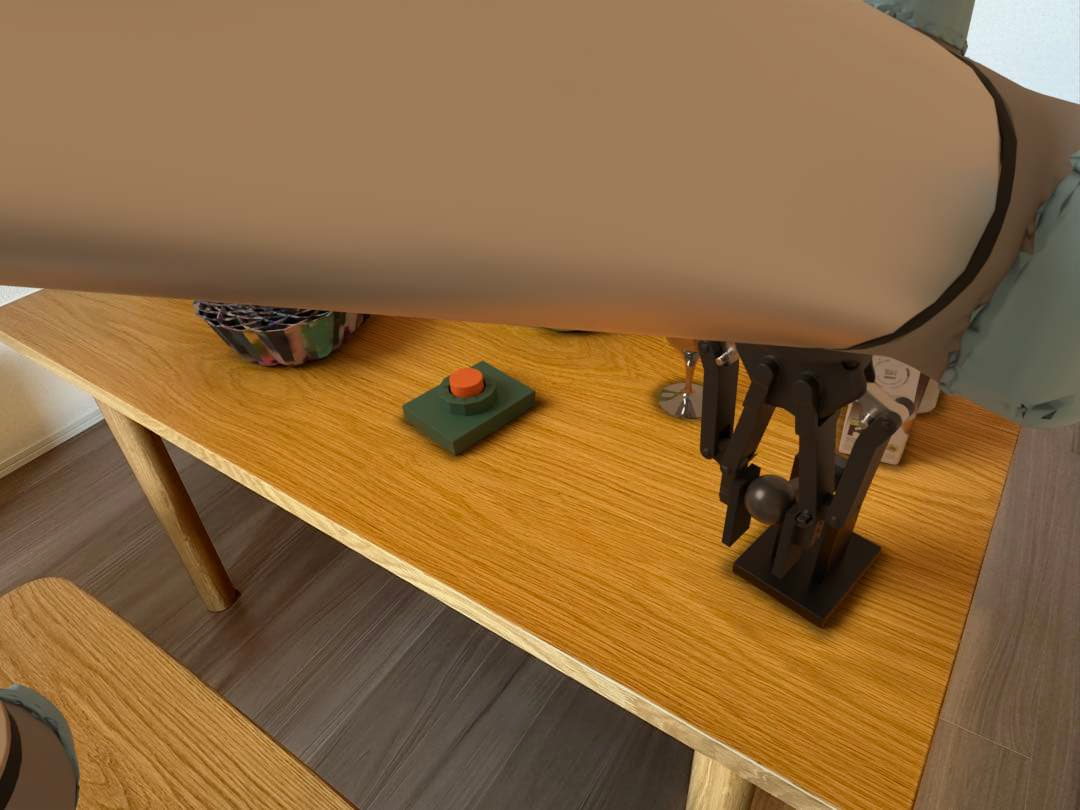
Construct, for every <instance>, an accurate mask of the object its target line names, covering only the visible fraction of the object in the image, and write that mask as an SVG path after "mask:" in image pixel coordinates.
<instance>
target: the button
mask: <svg viewBox="0 0 1080 810" xmlns="http://www.w3.org/2000/svg"><path fill="white" fill-rule="evenodd" d="M450 375H451V376H450V378H449V381H450V387H451V392H452V394H453V395H454V396H456V397H460V398H469V397H474V396H477V395H479V394H480V393H482V391H483V389H484V383H483V376H482V373H481V372H480V371H479V370H477V369H473V368H470V367H465V368H460V369H457V370H455V371H453V372H452V373H451V374H450Z"/></svg>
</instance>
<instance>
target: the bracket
mask: <svg viewBox="0 0 1080 810" xmlns="http://www.w3.org/2000/svg"><path fill="white" fill-rule="evenodd" d="M797 477H799V451H798V452H797V453H796V454H795V455H794V458H793V464H792V467H791V471H790V476H789V480H792V479H794V478H797ZM789 480H788V481H789ZM797 500H799V497H798V498H797ZM861 509H862V506H861V507H860V508H859V509H858V511H857V512H856V513H855V514H854V515H853V516H852V518H851V519H850V520H849V521H848V522H847V523H846V524H845V525H844V527H843V528H842V529H835V528H833V527H831V526H830V525H829V524H828V523H827V521H824V525H823V528H822V532H821V535H820V537H819V538H818V539H817V540H816V541H815V542H814V544H813V545H812V546H811V547H810V548H809V549H808V550H804V549H802V552H801V556H800V558H799V559H798V561H797V562H796V563H795V564H794V565H793V566H792V567H791V568H790V569H789V571H788V572H787V573H786V574H785V575H784V576H783V577H782V578H781V579H780V578H778V577H776V576H775V575H773V574H772V570H773V565H774V561H775V557H776V553H777V549H778V545H779V540H780V536H781V532H782V528H783V524H784V523H782V524H778V525H768V527H767V528H766V529H765V530H764V531H763V532H762V533H761V534H760V535H758V537H757V538H756V539H755V540H754V541H753V542H752V543H751V545H749V546H748V547H747V548H746V549H745V550H744V551H743V553H742V554H740V556H738V558H737V559H735V561H734V562H733V563H732V569H731V572H732V573H733V574H735V575H737V576H738V577H740V578H741V579H743V580H744V581H746V582H747V583H749V584H750V585H752V586H754V587H755V588H757V589H758V590H760V591H762V592H763V593H765V594H766V595H767V596H769V597H771V598H772V599H774V600H776V601H777V602H778V603H780V604H782V605H783V606H785V607H786V608H788V609H789V610H791V611H792V612H793V613H796V614H797V615H798V616H800V617H801V618H803V619H805V620H806V621H808V622H809V623H811V624H812V625H814V626H815V627H817V628H819V629H822V628H823V627H824V626H825V624H826V623H827V622H828V620H829V619H830V618H831V617H832V616H833V614H834V613H835V612H836V611H837V610H838V608H839V607H840V606H841V604H842V603H843V602H844V601H845V599H846V598H847V597H848V595H849V594H850V593H851V592H852V590H853V589H854V588H855V587H856V586H857V584H858V583H859V582H860V580H861V579H862V578H863V577H864V575H866V573H867V572H868V570H870V568H871V567H872V566H873V564H874V563H875V561H877V559H879V557H880V554H881V551H882V549H883V548H882V546H880V545H879V544H877V543H875V542H872V541H871V540H869V539H868V538H865V537H863V536H862V535H859V534H858V533H857V532H854V530H855V527H856V524H857V520H858V519H859V514H860V512H861Z"/></svg>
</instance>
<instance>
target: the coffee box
mask: <svg viewBox="0 0 1080 810" xmlns="http://www.w3.org/2000/svg"><path fill="white" fill-rule="evenodd" d="M872 361H873V367H874V370H875V374H876V379H875V382H874V383H875V384H876V385H877V386H878V387H880V388H881V389H882V390H883V391H884V392H886V393H887V394H888V395H889V396H890V397H891V398H893V399H894V400H895V399H897V398H899V397H906V398H908V399H910V400H911V401H912V402H913V403H914V405H915V411H914V413H913V414H912V415H911V416H910V417H909V418H908V419H907V420H906V421H905V423H904V424H903V425H902V426H901V427H900V428H899V429H898V430H897V431H896V432H895V433H894V434H893V435H892V436H891V438H890V440H889V443H888V445H887V447H886V450H885V452H884V454H883V457H882V459H881V461H880V463H885V464H889V465H893V466H897V465H899V463H900V461H901V458H902V457H903V453H904V450H905V449H906V445H907V443H908V439H909V437H910V434H911V431H912V428H913V426H914V424H915V421H916V418H917V415H918V413H917V412H918V410H919V407H920V404H921V401H922V399H923V396H924V394H925V391H926V388H927V385H928V382H929V380H930V377H928V376H926V375H925V374H923V373H921V372H920V371H918V370H917V369H915V368H913V367H911V366H909V365H907V364H905V363H903V362H900V361H898V360H895V359H893V358H890V357H886V356H881V355H873V357H872ZM861 410H862V408H861V405H860V403H859V402H858V401H857V400H856V401H854V402H852V403H850V404H848V405H847V410H846V414H845V418H844V423H843V427H842V432H841V437H840V443H839V447H838V452H839V453H841V454H845V455H850V453H851V450H852V448H853V445H854V443H855V441H856V439H857V438H858V436H859V435H860V434H861V432H862V431H863V429H861V428H860V427H859V425H858V424H859V422H860V420H859V415H860V413H861Z"/></svg>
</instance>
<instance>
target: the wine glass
mask: <svg viewBox="0 0 1080 810" xmlns="http://www.w3.org/2000/svg"><path fill="white" fill-rule="evenodd" d="M664 338H665V340H666V341H667V342H668V344H669V345H670V347H672V348H673V350H675V351H676V353H678V354H679V355H680V357H681V358H682V360H683V362H684V368H685V382H679V383H674V384H673V383H672V384H670V385H667V386H666V387H664V388H663V389H662V390H661V391H660V392H659V394H658V397H657V402H658V404H659V406H660V408H661V409H662V410H663V411H664V412H666V413H667V414H669V415H671V416H674V417H675V418H680V419H681V418H682V419H698V418H699V419H700V418H701V415H702V396H703V385H699V384H695V383H693V379H694V374H695V371H696V366H697V364H698V362H699V361H701V358H700V354H699V351H698V342H699V341H700V340H699V339H686V338H673V337H664Z"/></svg>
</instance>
